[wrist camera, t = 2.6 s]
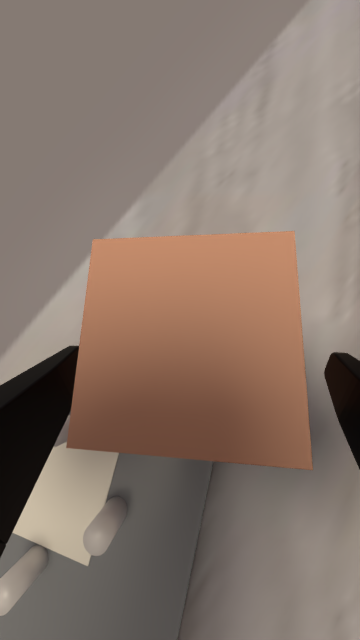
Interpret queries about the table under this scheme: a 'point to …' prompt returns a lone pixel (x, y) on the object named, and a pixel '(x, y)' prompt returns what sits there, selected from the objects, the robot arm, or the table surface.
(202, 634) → the table surface
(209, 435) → the terracotta block
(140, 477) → the base plate
